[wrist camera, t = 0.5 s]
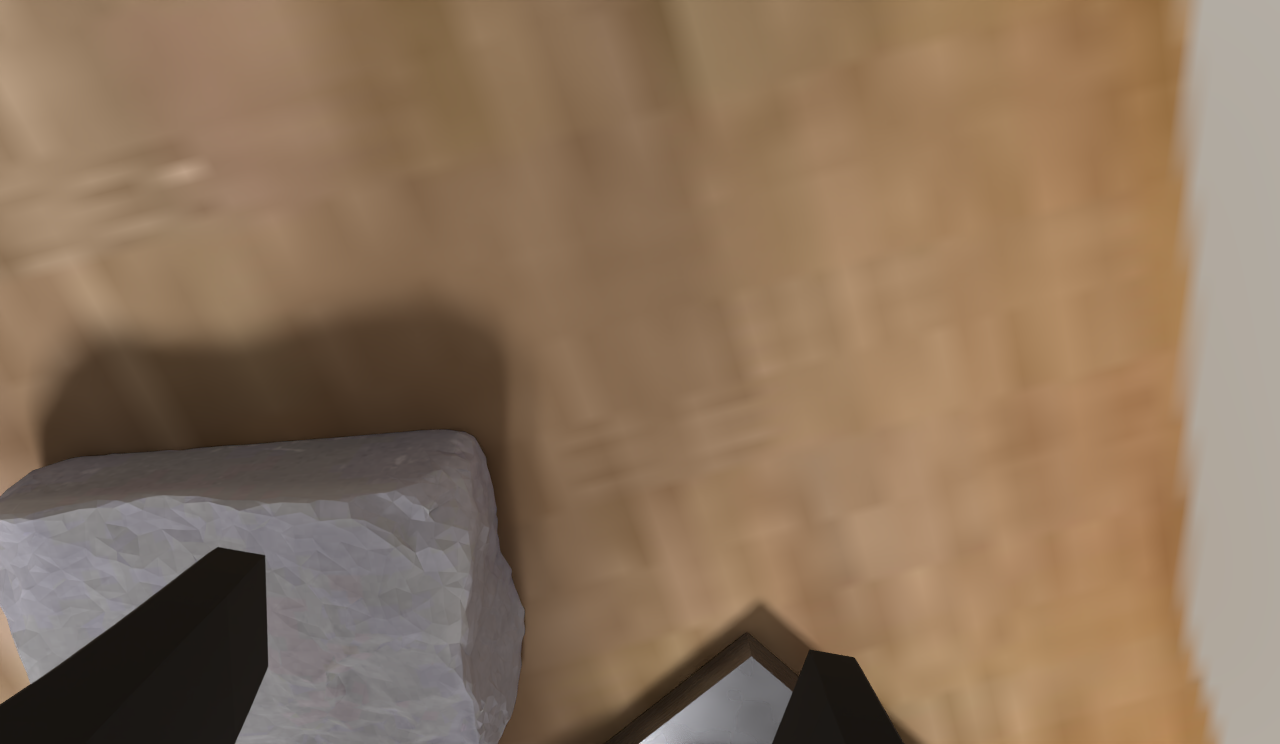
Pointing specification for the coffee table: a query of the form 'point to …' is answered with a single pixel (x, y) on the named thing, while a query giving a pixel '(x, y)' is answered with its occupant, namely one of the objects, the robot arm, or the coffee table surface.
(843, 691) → the robot arm
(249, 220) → the coffee table surface
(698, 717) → the disc on square base
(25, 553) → the stone block
